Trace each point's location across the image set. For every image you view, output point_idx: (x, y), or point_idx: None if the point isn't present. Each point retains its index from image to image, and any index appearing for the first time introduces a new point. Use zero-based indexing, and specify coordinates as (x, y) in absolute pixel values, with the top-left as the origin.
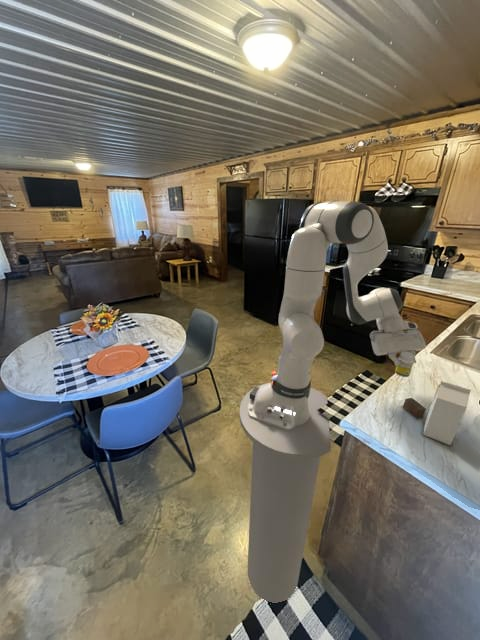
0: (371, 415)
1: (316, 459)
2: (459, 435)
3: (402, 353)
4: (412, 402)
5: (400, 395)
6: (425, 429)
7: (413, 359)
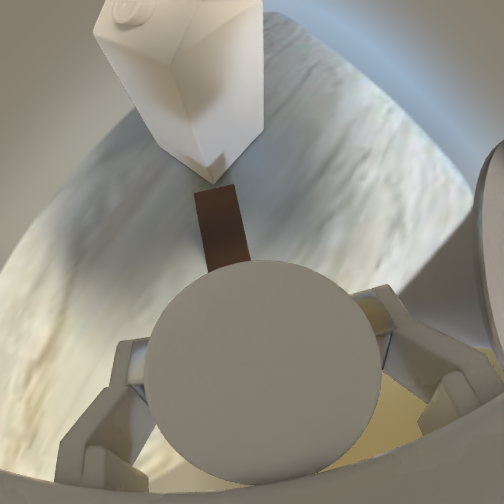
0: (406, 224)
1: (471, 211)
2: (142, 136)
3: (361, 401)
4: (231, 235)
5: None
6: (263, 116)
7: (138, 368)
